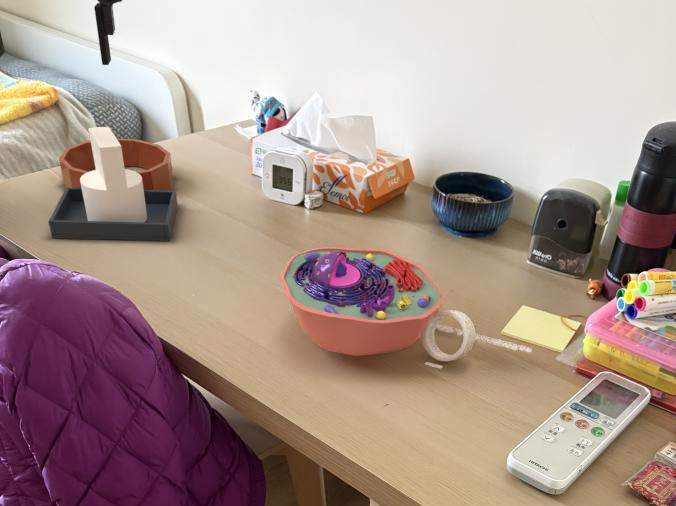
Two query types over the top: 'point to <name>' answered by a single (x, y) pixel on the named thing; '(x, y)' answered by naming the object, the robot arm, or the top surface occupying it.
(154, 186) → the terracotta bowl
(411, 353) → the top surface
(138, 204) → the base with upright slab
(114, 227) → the tray
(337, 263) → the cell model
